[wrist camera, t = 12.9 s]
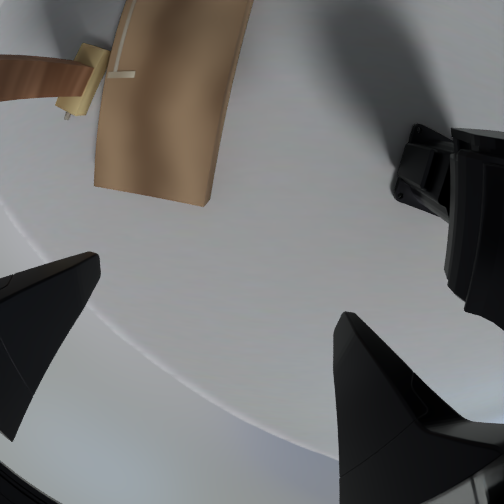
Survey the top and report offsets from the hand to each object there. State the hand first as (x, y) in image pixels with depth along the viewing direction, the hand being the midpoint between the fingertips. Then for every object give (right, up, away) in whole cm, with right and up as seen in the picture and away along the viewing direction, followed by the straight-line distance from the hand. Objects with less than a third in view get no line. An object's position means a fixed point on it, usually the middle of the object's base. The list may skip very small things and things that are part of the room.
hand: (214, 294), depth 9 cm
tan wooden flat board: (-4, +16, +7) cm, 18 cm away
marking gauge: (-13, +16, +8) cm, 22 cm away
